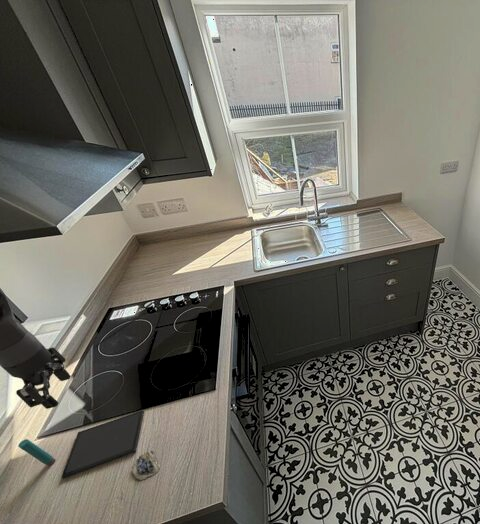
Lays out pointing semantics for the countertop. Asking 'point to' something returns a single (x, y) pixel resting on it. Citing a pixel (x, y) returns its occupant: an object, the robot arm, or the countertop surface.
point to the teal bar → (36, 452)
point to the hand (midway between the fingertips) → (60, 392)
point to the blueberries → (145, 466)
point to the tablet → (104, 444)
